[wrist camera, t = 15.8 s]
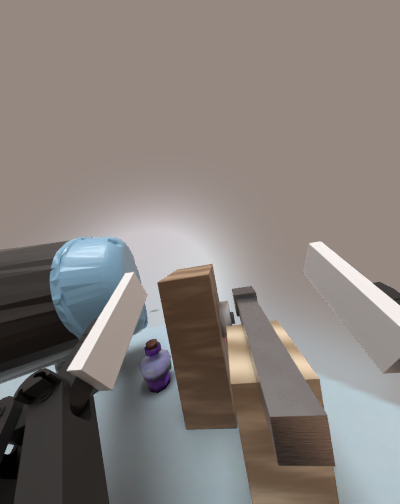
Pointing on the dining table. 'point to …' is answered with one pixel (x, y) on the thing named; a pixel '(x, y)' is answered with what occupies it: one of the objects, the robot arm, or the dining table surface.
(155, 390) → the potion bottle
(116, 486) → the dining table surface
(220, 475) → the dining table surface
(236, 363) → the oak block
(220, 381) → the post
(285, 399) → the grey long bar
